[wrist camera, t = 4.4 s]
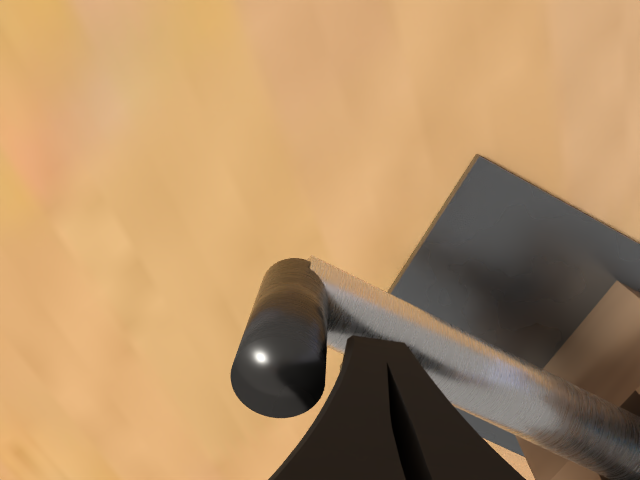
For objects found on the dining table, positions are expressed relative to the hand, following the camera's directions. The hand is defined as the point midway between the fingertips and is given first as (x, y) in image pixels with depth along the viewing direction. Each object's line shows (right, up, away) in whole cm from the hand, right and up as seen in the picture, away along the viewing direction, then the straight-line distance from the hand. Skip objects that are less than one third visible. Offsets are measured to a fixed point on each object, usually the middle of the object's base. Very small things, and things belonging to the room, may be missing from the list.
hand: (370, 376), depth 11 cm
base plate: (+9, -1, +9) cm, 12 cm away
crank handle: (+3, 0, +4) cm, 5 cm away
